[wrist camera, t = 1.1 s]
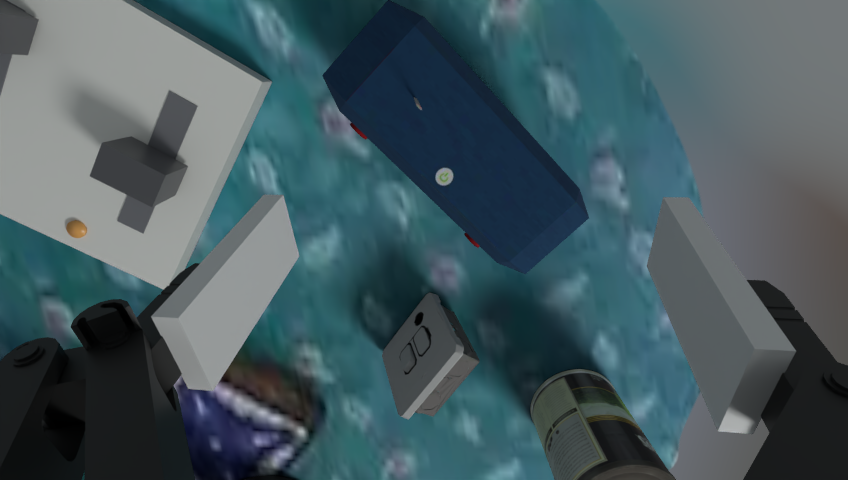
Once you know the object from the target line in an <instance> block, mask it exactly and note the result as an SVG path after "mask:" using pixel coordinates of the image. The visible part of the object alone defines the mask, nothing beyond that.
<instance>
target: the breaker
mask: <svg viewBox="0 0 848 480" xmlns="http://www.w3.org/2000/svg"><path fill="white" fill-rule="evenodd" d="M38 21H39V19H37V18H35V17H33V16H32V15H30V14H28V13H26V12H24V11H23V10H21V9H19V8H17V7H15V6H14V5H12V4H10V3H8V2H6V1H4V0H0V54H14V55H28V54H29V50H30V47H31V44H32V40H33V37H34V34H35V31H36V27H37V24H38Z"/></svg>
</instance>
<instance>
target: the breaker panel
mask: <svg viewBox="0 0 848 480" xmlns="http://www.w3.org/2000/svg"><path fill="white" fill-rule="evenodd" d="M4 1H6V2H8V3H10V4H12V5H14V6H15V7H17V8H19V9H21V10H23V11H24V12H26V13H28V14H30V15H32V16H33V17H35V18H37V19H39V21H38V24H37V27H36V31H35V34H34V37H33V40H32V44H31V47H30V50H29V54H28V55H14V54H0V214H2V215H4V216H6V217H8V218H10V219H12V220H15V221H17V222H19V223H21V224H23V225H25V226H28V227H30V228H32V229H34V230H36V231H38V232H40V233H43V234H45V235H47V236H49V237H51V238H53V239H56V240H58V241H60V242H62V243H64V244H66V245H69V246H71V247H73V248H75V249H77V250H79V251H81V252H84V253H86V254H88V255H90V256H92V257H94V258H97V259H99V260H101V261H103V262H105V263H107V264H110V265H112V266H114V267H116V268H118V269H120V270H122V271H125V272H127V273H129V274H131V275H133V276H135V277H138V278H140V279H142V280H144V281H146V282H148V283H150V284H153V285H155V286H157V287H159V288H161V289H163V290H164V289H165V288H166V287H167V286H169V285H170V283H171V282H172V280H173V279H174V278H175V277H176V276H177V275H178V274H179V273H180V272H182V271H184V270H185V268H186V265H187V263H188V261H189V259H190V257H191V255H192V253H193V250H194V248H195V246H196V244H197V242H198V240H199V238H200V235H201V233H202V231H203V229H204V227H205V225H206V223H207V220H208V218H209V216H210V214H211V212H212V210H213V208H214V205H215V203H216V201H217V199H218V197H219V195H220V193H221V190H222V188H223V186H224V184H225V182H226V180H227V178H228V175H229V173H230V171H231V169H232V167H233V165H234V163H235V160H236V158H237V156H238V154H239V152H240V150H241V148H242V145H243V143H244V141H245V139H246V137H247V135H248V133H249V130H250V128H251V126H252V124H253V122H254V120H255V118H256V115H257V113H258V111H259V109H260V107H261V105H262V103H263V100H264V98H265V96H266V94H267V92H268V90H269V88H270V85H271V83H272V81H270V80H269V79H267V78H265V77H264V76H262V75H260V74H258V73H257V72H255V71H253V70H252V69H250V68H248V67H246V66H245V65H243V64H241V63H240V62H238V61H236V60H234V59H233V58H231V57H229V56H228V55H226V54H224V53H223V52H221V51H219V50H217V49H216V48H214V47H212V46H211V45H209V44H207V43H205V42H204V41H202V40H200V39H199V38H197V37H195V36H194V35H192V34H190V33H188V32H187V31H185V30H183V29H182V28H180V27H178V26H176V25H175V24H173V23H171V22H170V21H168V20H166V19H164V18H163V17H161V16H159V15H158V14H156V13H154V12H153V11H151V10H149V9H147V8H146V7H144V6H142V5H141V4H139V3H137V2H135V1H134V0H4ZM130 136H132V137H134V138H136V139H138V140H139V141H141V142H143V143H145V144H147V145H149V146H151V147H153V148H155V149H157V150H159V151H160V152H162V153H164V154H166V155H168V156H170V157H172V158H174V159H176V160H178V161H179V162H181V163H183V164H185V165H187V166H188V168H187V170H186V173H185V175H184V177H183V179H182V182H181V184H180V186H179V189H178V191H177V193H176V195H175V196H173V197H171V198H169V199H168V200H166V201H164V202H162V203H160V204H158V205H156V206H154V207H150V206H148V205H146V204H144V203H142V202H140V201H138V200H136V199H134V198H132V197H130V196H128V195H126V194H124V193H122V192H120V191H118V190H116V189H114V188H112V187H110V186H108V185H106V184H104V183H102V182H100V181H98V180H96V179H94V178H92V177H90V173H91V171H92V168H93V165H94V163H95V160H96V157H97V155H98V152H99V149H100V147H101V144H102V142H107V141H112V140H116V139H121V138H125V137H130Z"/></svg>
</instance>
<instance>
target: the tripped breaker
mask: <svg viewBox="0 0 848 480" xmlns="http://www.w3.org/2000/svg"><path fill="white" fill-rule="evenodd" d="M187 168H188V166H187V165H185V164H183V163H181V162H179V161H178V160H176V159H174V158H172V157H170V156H168V155H166V154H164V153H162V152H160V151H159V150H157V149H155V148H153V147H151V146H149V145H147V144H145V143H143V142H141V141H139V140H138V139H136V138H134V137H132V136H130V137H125V138H121V139H116V140H112V141H107V142H102V144H101V147H100V149H99V152H98V155H97V157H96V160H95V163H94V165H93V168H92V171H91V173H90V177H92V178H94V179H96V180H98V181H100V182H102V183H104V184H106V185H108V186H110V187H112V188H114V189H116V190H118V191H120V192H122V193H124V194H126V195H128V196H130V197H132V198H134V199H136V200H138V201H140V202H142V203H144V204H146V205H148V206H150V207H154V206H156V205H158V204H160V203H162V202H164V201H166V200H168V199H169V198H171V197H173V196H175V195H176V193H177V191H178V189H179V186H180V184H181V182H182V179H183V177H184V175H185V173H186V170H187Z"/></svg>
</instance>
